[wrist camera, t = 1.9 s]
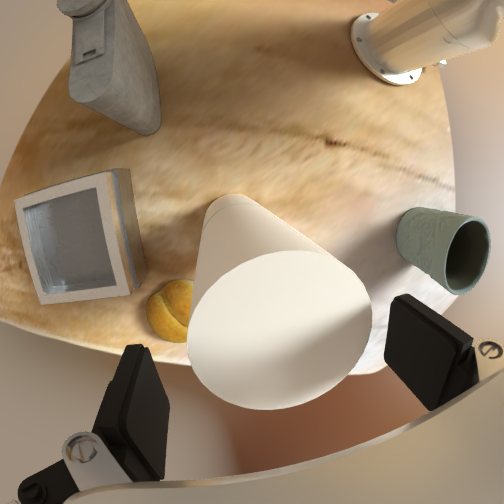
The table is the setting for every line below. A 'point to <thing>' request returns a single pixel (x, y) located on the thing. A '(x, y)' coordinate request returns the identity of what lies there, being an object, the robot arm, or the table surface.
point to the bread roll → (171, 310)
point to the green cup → (445, 246)
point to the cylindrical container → (271, 310)
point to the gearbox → (83, 238)
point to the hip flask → (112, 64)
